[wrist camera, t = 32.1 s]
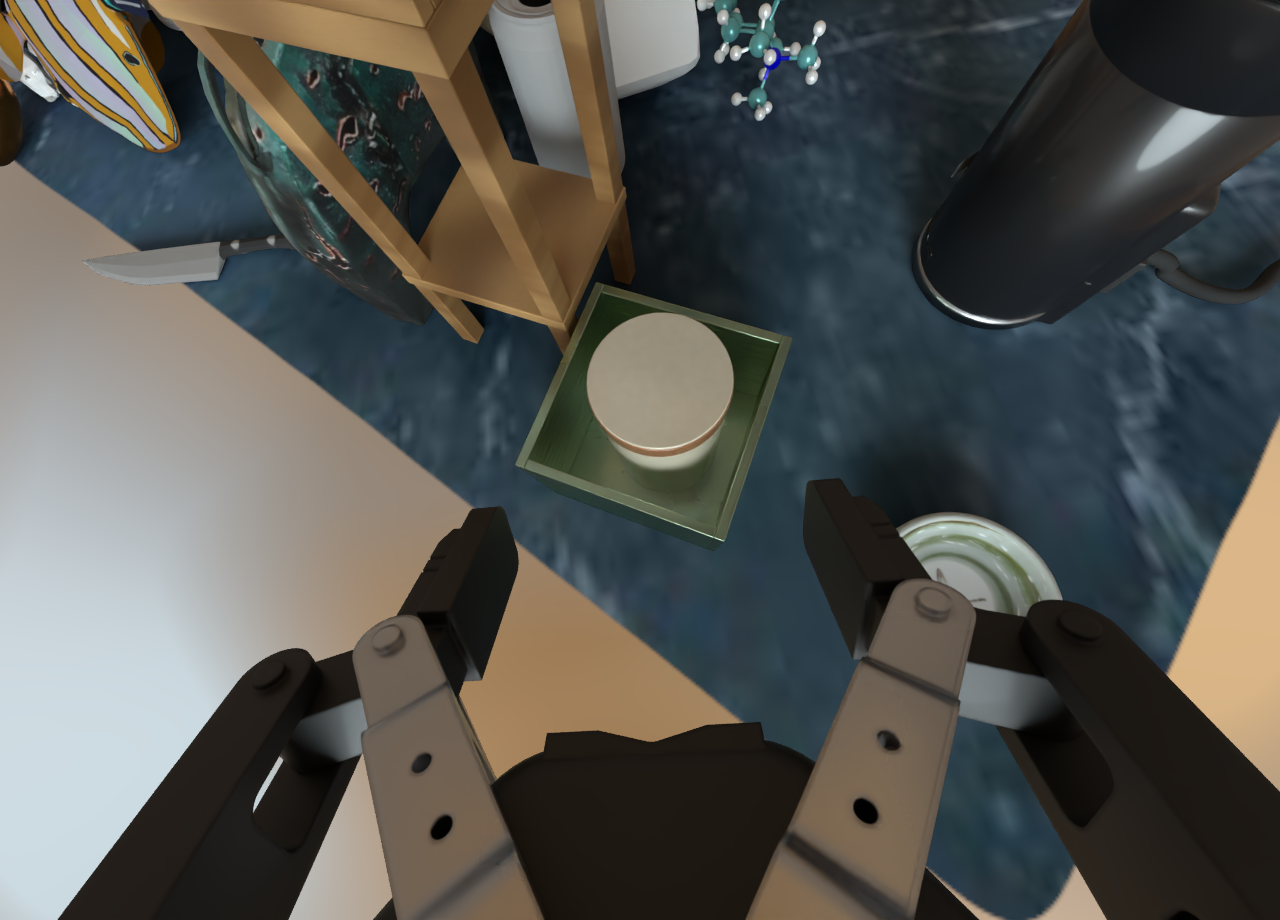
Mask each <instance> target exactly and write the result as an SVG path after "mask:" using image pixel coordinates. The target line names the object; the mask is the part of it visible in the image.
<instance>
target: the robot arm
mask: <svg viewBox="0 0 1280 920" xmlns="http://www.w3.org/2000/svg"><path fill="white" fill-rule="evenodd" d="M1278 140H1280V0H1083V1H1082V3H1081V4H1080V6H1079V7H1078V9H1077V10H1076V12H1075V13H1074V14H1073V16H1072V17H1071V19H1070V20H1069V22H1068V23H1067V25H1066V26H1065V27H1064V29H1063V30H1062V32H1061V33H1060V35H1059V36H1058V38H1057V39H1056V40H1055V42H1054V43H1053V45H1052V46H1051V48H1050V49H1049V51H1048V52H1047V53H1046V55H1045V56H1044V58H1043V59H1042V61H1041V62H1040V64H1039V65H1038V67H1037V68H1036V69H1035V71H1034V72H1033V74H1032V75H1031V77H1030V78H1029V80H1028V81H1027V82H1026V84H1025V85H1024V87H1023V88H1022V90H1021V91H1020V93H1019V94H1018V95H1017V97H1016V98H1015V100H1014V101H1013V103H1012V104H1011V106H1010V107H1009V108H1008V110H1007V111H1006V113H1005V114H1004V116H1003V117H1002V119H1001V120H1000V121H999V123H998V124H997V126H996V127H995V129H994V130H993V132H992V133H991V134H990V136H989V137H988V139H987V140H986V142H985V143H984V145H983V146H982V147H981V149H980V150H979V151H978V152H976V153H975V154H973V155H972V156H970V157H969V158H967V159H966V160H964V161H963V162H961V163H960V164H959V166H958V167H957V169H956V170H955V172H954V173H953V175H952V176H951V177H953V176H954V175H956V174H957V173H959V172H960V171H962V170H963V169H965V168H966V167H968V168H967V169H966V171H965V172H964V174H963V175H962V176H961V178H960V179H959V181H958V182H957V184H956V185H955V187H954V188H953V190H952V191H951V192H950V194H949V195H948V197H947V198H946V200H945V201H944V202H943V204H942V205H941V206H940V208H938V210H937V211H936V213H935V214H934V216H933V217H932V218H931V219H930V220H929V221H928V223H927V224H926V226H925V227H924V229H923V230H922V232H921V233H920V235H919V236H918V238H917V240H916V243H915V245H914V249H913V254H912V267H913V273H914V276H915V279H916V282H917V284H918V286H919V288H920V290H921V291H922V293H923V294H924V295H925V297H926V298H927V299H928V300H929V301H930V302H931V303H932V304H933V305H934V306H935V307H936V308H937V309H938V310H940V311H941V312H942V313H944V314H945V315H947V316H949V317H950V318H952V319H954V320H956V321H959V322H961V323H964V324H967V325H970V326H973V327H978V328H984V329H1010V328H1016V327H1020V326H1023V325H1026V324H1029V323H1031V322H1033V321H1039V322H1044V323H1048V324H1053V323H1054V322H1056V321H1057V320H1059V319H1060V318H1062V317H1063V316H1065V315H1066V314H1067V313H1069V312H1070V311H1072V310H1073V309H1075V308H1076V307H1078V306H1079V305H1080V304H1082V303H1083V302H1085V301H1086V300H1088V299H1089V298H1091V297H1092V296H1093V295H1095V294H1096V293H1098V292H1099V293H1103V294H1105V293H1107V292H1109V291H1110V290H1111V289H1113V288H1114V287H1116V286H1117V285H1119V284H1120V283H1122V282H1123V281H1125V280H1126V279H1128V278H1129V277H1131V276H1132V275H1134V274H1135V273H1137V272H1138V271H1140V270H1141V269H1143V268H1144V267H1145V266H1147V264H1151V265H1153V266H1155V267H1156V270H1155V274H1156V276H1157V277H1158V278H1159V279H1161V280H1162V281H1164V282H1165V283H1167V284H1169V285H1171V286H1172V287H1174V288H1176V289H1178V290H1180V291H1182V292H1184V293H1186V294H1188V295H1191V296H1193V297H1196V298H1199V299H1202V300H1206V301H1209V302H1215V303H1222V304H1240V303H1247V302H1250V301H1253V300H1255V299H1257V298H1259V297H1260V296H1262V295H1264V294H1266V293H1267V292H1268V291H1269V290H1270V289H1271V288H1272V287H1273V286H1274V285H1275V284H1276V283H1277V282H1278V281H1279V280H1280V259H1279V260H1277V261H1276V262H1274V263H1273V264H1271V265H1270V266H1269V267H1267V268H1266V269H1265V270H1264V271H1263V272H1262V273H1261V275H1260V276H1259V277H1258V278H1257V279H1256V280H1255V281H1254V282H1253V283H1252V284H1251V285H1250V286H1249V287H1247V288H1244V289H1239V290H1235V289H1226V288H1221V287H1217V286H1214V285H1211V284H1208V283H1205V282H1203V281H1201V280H1198V279H1196V278H1194V277H1192V276H1190V275H1188V274H1187V273H1185V272H1183V271H1181V270H1180V269H1178V268H1177V266H1178V264H1179V261H1178V259H1177V257H1176V256H1174V255H1173V254H1171V253H1169V252H1167V251H1165V250H1162V249H1161V248H1163V247H1164V246H1166V245H1167V244H1169V243H1170V242H1172V241H1173V240H1175V239H1176V238H1177V237H1179V236H1180V235H1182V234H1183V233H1185V232H1186V231H1188V230H1189V229H1190V228H1192V227H1193V226H1195V225H1196V224H1198V223H1199V222H1201V221H1202V220H1203V219H1205V218H1206V217H1208V216H1209V215H1210V214H1211V213H1212V212H1213V211H1214V210H1215V208H1216V206H1217V204H1218V201H1219V194H1220V186H1221V182H1223V181H1224V180H1226V179H1227V178H1228V177H1230V176H1231V175H1232V174H1234V173H1235V172H1236V171H1238V170H1239V169H1240V168H1242V167H1243V166H1244V165H1246V164H1247V163H1249V162H1250V161H1251V160H1253V159H1254V158H1255V157H1257V156H1258V155H1259V154H1261V153H1262V152H1263V151H1265V150H1266V149H1267V148H1269V147H1270V146H1272V145H1273V144H1274V143H1276V142H1277V141H1278ZM803 538H804V544H805V548H806V551H807V554H808V556H809V558H810V561H811V563H812V565H813V568H814V570H815V572H816V575H817V577H818V579H819V582H820V584H821V586H822V589H823V591H824V593H825V596H826V598H827V600H828V603H829V605H830V607H831V610H832V612H833V614H834V617H835V619H836V621H837V623H838V626H839V628H840V630H841V633H842V635H843V637H844V640H845V642H846V644H847V647H848V649H849V651H850V654H851V656H852V658H853V660H854V659H860V661H859V663H858V665H857V667H856V670H855V672H854V675H853V677H852V679H851V682H850V684H849V686H848V689H847V691H846V693H845V696H844V698H843V700H842V703H841V705H840V707H839V710H838V712H837V715H836V717H835V719H834V722H833V724H832V726H831V729H830V731H829V733H828V736H827V738H826V740H825V743H824V745H823V748H822V750H821V752H820V755H819V757H818V759H817V762H816V763H815V762H814V761H812V760H811V759H809V758H808V757H806V756H804V755H803V754H801V753H799V752H797V751H795V750H793V749H791V748H789V747H786V746H784V745H781V744H778V743H775V742H771V741H767V740H764V736H763V731H762V726H761V722H754V723H734V724H715V725H705V726H702V727H699V728H696V729H693V730H690V731H687V732H684V733H681V734H678V735H674V736H672V737H668V738H665V739H662V740H659V741H655V742H647V741H642V740H637V739H633V738H629V737H625V736H620V735H615V734H611V733H607V732H602V731H580V732H560V733H547V736H546V741H545V747H544V752H541V753H538V754H536V755H534V756H531V757H529V758H527V759H525V760H523V761H522V762H520V763H518V764H517V765H515V766H514V767H512V768H511V769H509V770H508V771H507V772H505V773H504V774H503V775H501V776H500V777H499V778H498V779H497V778H496V776H495V774H494V772H493V770H492V768H491V766H490V763H489V762H488V759H487V757H486V754H485V752H484V750H483V748H482V745H481V743H480V741H479V739H478V736H477V734H476V732H475V729H474V727H473V725H472V723H471V720H470V718H469V716H468V714H467V711H466V709H465V707H464V704H463V702H462V700H461V698H460V696H459V693H460V690H461V687H462V685H463V682H464V681H479V680H482V678H483V675H484V672H485V669H486V666H487V663H488V659H489V657H490V654H491V651H492V648H493V645H494V642H495V639H496V636H497V632H498V630H499V627H500V624H501V621H502V618H503V615H504V612H505V609H506V606H507V603H508V600H509V596H510V593H511V590H512V587H513V584H514V581H515V578H516V575H517V571H518V564H519V561H518V551H517V548H516V545H515V542H514V538H513V535H512V532H511V529H510V526H509V523H508V520H507V517H506V514H505V511H504V509H503V508H502V507H488V508H476V509H472V510H471V511H470V512H469V514H468V516H467V518H466V520H465V522H464V523H463V525H462V527H461V528H460V529H453V530H452V531H451V532H450V533H449V534H448V535H447V536H445V537H444V538H443V539H442V540H441V541H440V542H439V543H438V545H437V547H436V548H435V550H434V552H433V554H432V555H431V558H430V560H429V561H428V562H427V564H426V566H425V567H424V569H423V573H421V574H420V576H419V578H418V580H417V581H416V583H415V585H414V587H413V588H412V590H411V592H410V593H409V595H408V597H407V599H406V600H405V602H404V604H403V606H402V607H401V609H400V611H399V612H398V614H397V616H394V617H391V618H388V619H386V620H384V621H382V622H380V623H378V624H377V625H375V626H374V627H372V628H371V629H370V630H369V631H367V632H366V633H365V634H364V635H363V636H362V637H361V639H360V640H359V641H358V643H357V644H356V646H355V648H354V650H351V651H348V652H345V653H342V654H339V655H336V656H333V657H330V658H327V659H324V660H321V661H318V662H315V661H314V659H313V658H312V656H311V655H310V654H309V652H307V651H306V650H303V649H299V648H292V649H287V650H284V651H280V652H277V653H275V654H273V655H271V656H269V657H267V658H265V659H263V660H262V661H260V662H259V663H257V664H256V665H255V666H253V667H252V668H251V669H250V670H248V671H247V672H246V673H245V674H244V675H243V676H242V677H241V679H240V680H239V681H238V682H237V683H236V685H235V686H234V687H233V689H232V690H231V691H230V693H229V694H228V695H227V697H226V698H225V699H224V701H223V702H222V703H221V704H220V706H219V707H218V708H217V710H216V712H214V714H213V715H212V716H211V718H210V719H209V720H208V722H207V723H206V724H205V726H204V727H203V728H202V730H201V731H200V732H199V734H198V735H197V736H196V738H195V739H194V740H193V742H192V743H191V744H190V746H189V747H188V748H187V749H186V751H185V752H184V753H183V755H182V756H181V758H180V759H179V760H178V761H177V763H176V764H175V765H174V767H173V768H172V769H171V770H170V772H169V773H168V774H167V776H166V777H165V779H164V780H163V781H162V782H161V784H160V785H159V786H158V788H157V789H156V790H155V792H154V793H153V794H152V796H151V797H150V798H149V800H148V801H147V802H146V804H145V805H144V806H143V807H142V809H141V810H140V811H139V813H138V814H137V815H136V817H135V818H134V819H133V821H132V822H131V823H130V825H129V826H128V827H127V829H126V830H125V831H124V833H123V834H122V835H121V837H120V838H119V839H118V840H117V842H116V843H115V844H114V846H113V847H112V849H111V850H110V851H109V852H108V854H107V855H106V856H105V858H104V859H103V860H102V862H101V863H100V864H99V866H98V867H97V868H96V870H95V871H94V872H93V874H92V875H91V876H90V877H89V879H88V880H87V881H86V883H85V884H84V885H83V887H82V888H81V889H80V891H79V892H78V893H77V895H76V896H75V897H74V899H73V900H72V901H71V902H70V904H69V905H68V906H67V908H66V909H65V910H64V912H63V913H62V915H61V916H60V917H59V918H58V920H288V919H289V917H290V915H291V913H292V910H293V908H294V906H295V904H296V901H297V899H298V897H299V895H300V892H301V890H302V888H303V885H304V883H305V881H306V879H307V876H308V874H309V872H310V870H311V868H312V865H313V863H314V861H315V858H316V856H317V854H318V852H319V850H320V847H321V845H322V842H323V840H324V838H325V836H326V834H327V831H328V829H329V827H330V824H331V822H332V820H333V818H334V816H335V813H336V811H337V809H338V807H339V804H340V802H341V800H342V798H343V795H344V793H345V791H346V788H347V786H348V784H349V782H350V779H351V777H352V775H353V773H354V771H355V768H356V766H357V763H358V762H359V759H360V757H361V755H362V754H363V755H364V760H365V764H366V769H367V775H368V779H369V784H370V789H371V794H372V799H373V804H374V808H375V814H376V818H377V823H378V828H379V833H380V837H381V843H382V848H383V852H384V858H385V862H386V867H387V872H388V877H389V882H390V887H391V892H392V899H391V900H390V901H389V902H388V903H387V904H386V905H385V907H384V908H383V909H382V910H381V911H380V912H379V913H378V914H377V916H376V917H375V918H374V919H373V920H979V919H978V918H977V917H976V916H975V915H974V914H973V913H972V912H971V911H970V910H969V909H967V908H966V906H965V905H963V904H962V903H961V902H960V901H959V900H958V899H957V898H956V897H955V896H954V895H953V894H952V893H951V892H950V891H949V890H948V889H947V888H946V887H945V886H944V885H943V884H942V883H941V882H940V881H939V880H938V879H937V878H936V877H935V876H934V875H933V874H932V873H931V872H930V871H929V870H928V869H927V868H926V867H925V866H926V861H927V857H928V852H929V847H930V843H931V838H932V834H933V829H934V825H935V820H936V815H937V811H938V806H939V802H940V797H941V793H942V788H943V783H944V779H945V774H946V770H947V765H948V761H949V756H950V751H951V747H952V742H953V738H954V733H955V728H956V724H957V719H958V716H961V717H965V718H969V719H973V720H978V721H982V722H986V723H990V724H994V725H996V727H997V729H998V731H999V732H1000V734H1001V736H1002V738H1003V739H1004V741H1005V743H1006V745H1007V746H1008V748H1009V750H1010V752H1011V753H1012V755H1013V757H1014V759H1015V760H1016V762H1017V764H1018V765H1019V767H1020V769H1021V771H1022V772H1023V774H1024V776H1025V778H1026V779H1027V781H1028V783H1029V785H1030V786H1031V788H1032V790H1033V792H1034V793H1035V795H1036V797H1037V799H1038V800H1039V802H1040V804H1041V806H1042V807H1043V809H1044V811H1045V813H1046V814H1047V816H1048V818H1049V819H1050V821H1051V823H1052V825H1053V826H1054V828H1055V830H1056V832H1057V833H1058V835H1059V837H1060V839H1061V840H1062V842H1063V844H1064V846H1065V847H1066V849H1067V851H1068V853H1069V854H1070V856H1071V858H1072V860H1073V861H1074V863H1075V865H1076V867H1077V868H1078V870H1079V872H1080V874H1081V875H1082V877H1083V879H1084V880H1085V882H1086V884H1087V886H1088V887H1089V889H1090V891H1091V893H1092V894H1093V896H1094V898H1095V900H1096V901H1097V903H1098V905H1099V906H1100V908H1101V910H1102V912H1103V914H1104V915H1105V917H1106V919H1107V920H1280V792H1279V790H1277V788H1276V787H1275V786H1274V785H1273V784H1272V783H1271V782H1270V781H1269V780H1268V779H1267V778H1266V777H1265V776H1264V775H1263V774H1262V773H1261V772H1260V771H1259V770H1258V769H1257V768H1256V767H1255V766H1254V765H1253V764H1252V763H1251V762H1250V761H1249V760H1248V759H1247V758H1246V757H1245V756H1244V755H1243V753H1242V752H1240V750H1239V749H1238V748H1237V747H1236V746H1235V745H1234V744H1233V743H1232V742H1231V741H1230V740H1229V739H1228V738H1227V737H1226V736H1225V735H1224V734H1223V733H1222V732H1221V731H1220V730H1219V729H1218V728H1217V727H1216V726H1215V725H1214V724H1213V723H1212V722H1211V721H1210V720H1209V719H1208V718H1207V717H1206V715H1205V714H1204V713H1203V712H1202V711H1201V710H1200V709H1199V708H1198V707H1197V706H1196V705H1195V704H1194V703H1193V702H1192V701H1191V700H1190V699H1189V698H1188V697H1187V696H1186V695H1185V694H1184V693H1183V692H1182V691H1181V690H1180V689H1179V688H1178V687H1177V686H1176V685H1175V684H1174V683H1173V682H1172V681H1171V680H1170V679H1169V677H1168V676H1167V675H1166V674H1165V673H1164V672H1163V671H1162V670H1161V669H1160V668H1159V667H1158V666H1157V665H1156V664H1155V663H1154V662H1153V661H1152V660H1151V659H1150V658H1149V657H1148V656H1147V655H1146V654H1145V653H1144V652H1143V651H1142V650H1141V649H1140V648H1139V647H1138V646H1137V645H1136V644H1135V643H1134V642H1133V641H1132V639H1131V638H1130V637H1129V636H1128V635H1127V634H1126V633H1125V632H1124V631H1123V630H1122V629H1121V628H1120V627H1119V626H1117V625H1116V624H1115V623H1114V622H1113V621H1111V620H1110V619H1108V618H1107V617H1105V616H1104V615H1102V614H1100V613H1098V612H1096V611H1094V610H1093V609H1090V608H1088V607H1085V606H1083V605H1080V604H1077V603H1073V602H1069V601H1064V600H1052V599H1050V600H1042V601H1038V602H1036V603H1034V604H1033V605H1032V606H1031V607H1030V608H1029V610H1028V612H1027V615H1026V617H1024V616H1018V615H1012V614H1007V613H1001V612H995V611H989V610H984V609H979V608H976V607H973V605H972V604H971V602H970V601H969V600H968V599H967V598H966V597H965V596H964V595H963V594H962V593H960V592H959V591H957V590H956V589H954V588H952V587H950V586H948V585H946V584H944V583H941V582H938V581H934V580H932V578H931V577H930V575H929V574H928V573H927V571H926V570H925V568H924V567H923V566H922V564H921V563H920V561H919V560H918V559H917V557H916V556H915V555H914V553H913V552H912V550H911V549H910V548H909V546H908V545H907V543H906V542H905V541H904V539H903V538H902V537H900V534H899V532H898V531H897V529H896V528H895V527H894V525H892V524H891V521H890V520H889V518H888V517H887V515H886V514H885V513H884V511H883V510H882V508H881V507H879V506H878V505H876V504H875V503H873V502H872V501H870V500H869V499H867V498H866V497H864V496H856V497H852V495H851V494H850V492H849V491H848V489H847V488H846V486H845V485H844V483H843V482H842V480H841V479H839V478H835V479H824V480H812V481H808V483H807V486H806V496H805V509H804V521H803ZM279 756H280V757H281V758H282V759H283V762H282V764H281V766H280V767H279V769H278V771H277V773H276V774H275V776H274V778H273V780H272V781H271V783H270V785H269V787H268V788H267V790H266V792H265V794H264V795H263V797H262V799H261V801H260V802H259V804H258V806H257V808H256V809H255V811H254V813H253V807H254V802H255V799H256V796H257V794H258V792H259V790H260V788H261V787H262V785H263V783H264V781H265V780H266V778H267V776H268V775H269V773H270V771H271V770H272V768H273V766H274V765H275V763H276V761H277V759H278V757H279Z"/></svg>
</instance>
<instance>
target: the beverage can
mask: <svg viewBox="0 0 1280 920" xmlns="http://www.w3.org/2000/svg"><path fill="white" fill-rule="evenodd" d="M594 2H595V8H596V15H597V21H598V28H599V34H600V41H601V48H602V54H603V61H604V67H605V74H606V80H607V87H608V93H609V100H610V106H611V113H612V119H613V126H614V132H615V139H616V145H617V152H618V158H619V165H620V171H621V173H622V171H623V168H624V165H625V150H624V143H623V135H622V128H621V121H620V113H619V106H618V99H617V91H616V84H615V77H614V69H613V62H612V55H611V47H610V40H609V33H608V25H607V18H606V11H605V4H604V0H594ZM489 20H490V25H491V28H492V31H493V34H494V37H495V39H496V42H497V45H498V48H499V51H500V54H501V57H502V60H503V62H504V65H505V68H506V71H507V74H508V77H509V80H510V83H511V86H512V88H513V91H514V94H515V97H516V100H517V103H518V106H519V109H520V111H521V114H522V117H523V120H524V123H525V126H526V129H527V132H528V135H529V137H530V140H531V143H532V146H533V149H534V152H535V155H536V158H537V160H538V163H539V166H542V167H546V168H550V169H554V170H559V171H563V172H567V173H571V174H575V175H579V176H583V177H587V178H591V174H590V169H589V165H588V161H587V156H586V152H585V147H584V143H583V139H582V134H581V130H580V125H579V121H578V117H577V112H576V108H575V104H574V99H573V95H572V90H571V86H570V82H569V77H568V73H567V68H566V64H565V60H564V55H563V51H562V47H561V42H560V38H559V33H558V29H557V25H556V20H555V16H554V11H553V7H552V3H551V0H494V2H493V4H492V6H491V7H490V13H489ZM591 179H592V178H591Z"/></svg>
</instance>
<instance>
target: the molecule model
mask: <svg viewBox="0 0 1280 920" xmlns="http://www.w3.org/2000/svg"><path fill="white" fill-rule="evenodd" d="M780 1H784V0H775V1H774V3H773V6H772V8H771V6H770V5H769V4H768V3H764V4H763V5H762V6H761V7H760V9H759V17H760V19H759V21H758V23H743V18H742V16H741V14H740V10H739V9H738V8H736V6H737V0H698V1H697V8H698V9H699V10H700V11H704V10H705V9H706V8H707V9H710V8H711V7H712V6H713V7H715V11H716V13H717V21H718V23H719V24H720V25H722V27H721V36H722V38H723V40H724V43H723V44H722V45H721V46H720V50H717V51H716V53H715V55H714V59H715V61H716V63H722V62H723V61H724V59H725V56H726V55H727V54H728V53H729V50H730V48H729V45H728V43H730V42H733V41H735V40H736V38H737V37H738V35H739V33H748V34H754V35H753V36H752V38H751V40H750V43H749V46H748V47H745V48H742V49H741V48H740V46H737V45H736V46H733V47H732V48H731V50H730V58H731V59H732V60H733V61H737V60H739V59H740V57H741V55H742V53H744V52H747V51H750V53H751V54H752V56H753V57H756V58H760V57H763V56H764V58H763V63H764V66H765V68H762V69H761V70H760V71H759V74H758V77H759V79H760V80H761V81H762V83H761V86H760V87H757V88H754V89H753V90H752V91H751V93H750V94H749V97H742V95H741V94H740V93H738V92H737V93H734V94H733V96H732V98H731V102H732V104H733V105H735V106H737V105H739V104H740V103H741V101H748V103H749V106H750V107H751V108H752V109H753V110H756V111H755V114H754V116H755V119H756V120H758V121H761V120H763V119H764V117H765V115H766V114H769V113H770V112H771V110H772V104H771V102H769V101H767V93H766V91H765V90H764V89H763V87H764V85H765V82H766V79H767V78H768V76H769V71H770V70H774V69H776V68H777V67H778V66H779V64H780V62H781V61H783V60H797V63H798V66H799V67H800V68H801V69H803V70H808V73H807V75H806V83H807V84H809V85H812V84H814V83H815V82H816V81H817V78H818V73H817V71H815V70H817V69H818V68H819V66H820V63H821V60H820V58H819V57H818V51H817V48H816V47H815V46H814V45H815V43H816V40H817V38H818V37H819V36H821V35H823V34H824V32H825V30H826V24H825V22H824V21H822V20H820V21H818V22H816V24H815V25H814V28H813V33H814V35H815V36H814V38H813V41H812V43H811V44H808V45H805V46H803V47H802V48H801V46H800V44H799V43H798V42H794V43H793V44H792V45H791V47H783V43H782V41H781V39H780V38H778V37H776V33H775V32H774V28H775V20H774V18H773V16H774V14H775V11H776V9H777V7H778V4H779V2H780ZM742 27H756V29H742ZM782 51H790V54H791V55H792V56H781V53H782Z"/></svg>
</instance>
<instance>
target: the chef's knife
mask: <svg viewBox="0 0 1280 920" xmlns="http://www.w3.org/2000/svg"><path fill="white" fill-rule="evenodd" d="M274 248H288V249H291V250H296V249H295V248H294V247H293V246H292V245H291V244H290V243H289V242H288V240H287V239H286V237H285V236H284V235H283V234H280V235H273V236H265V237H257V238H249V239H240V240H230V241H221V242H212V243H204V244H196V245H188V246H181V247H173V248H165V249H157V250H149V251H142V252H134V253H127V254H121V255H113V256H107V257H100V258H94V259H88V260H83V261H82V262H83V263H85V264H86V265H87V266H88V267H90V268H91V269H92V270H94V271H95V272H96V273H98V274H100V275H104V276H107V277H110V278H113V279H117V280H120V281H123V282H126V283H129V284H137V285H158V284H170V283H182V282H194V281H206V280H218V278H219V276H220V274H221V271H222V268H223V265H224V262H225V259H227V258H228V257H230V256H232V255H239V254H244V253H249V252H254V251H258V250H266V249H274Z"/></svg>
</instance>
